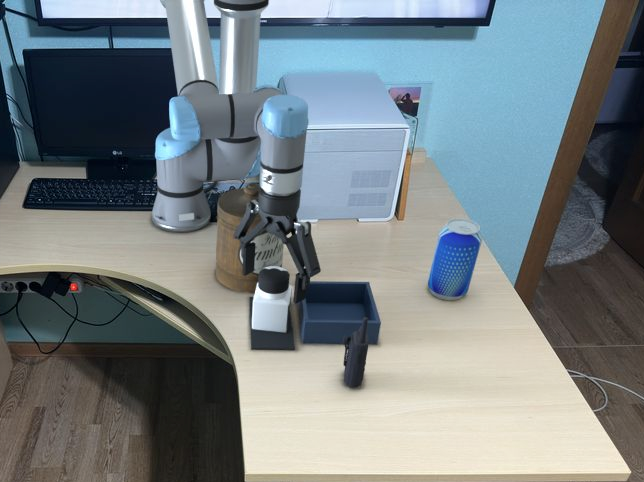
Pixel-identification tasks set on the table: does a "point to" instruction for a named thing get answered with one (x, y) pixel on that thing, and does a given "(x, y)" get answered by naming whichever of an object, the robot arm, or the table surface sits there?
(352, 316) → the tote
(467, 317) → the table surface
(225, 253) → the wooden container
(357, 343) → the two-way radio
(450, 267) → the beer can
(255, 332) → the mat
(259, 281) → the medicine bottle
